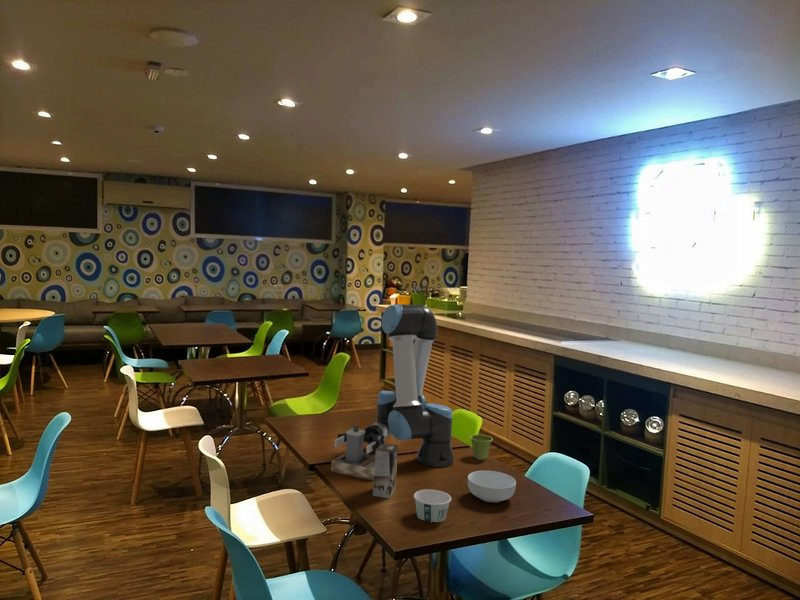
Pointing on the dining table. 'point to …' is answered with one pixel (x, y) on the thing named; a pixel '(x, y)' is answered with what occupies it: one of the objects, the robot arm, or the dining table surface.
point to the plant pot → (481, 446)
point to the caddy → (355, 467)
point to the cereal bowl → (491, 485)
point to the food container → (432, 505)
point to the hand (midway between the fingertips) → (351, 446)
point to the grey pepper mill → (355, 444)
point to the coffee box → (385, 470)
